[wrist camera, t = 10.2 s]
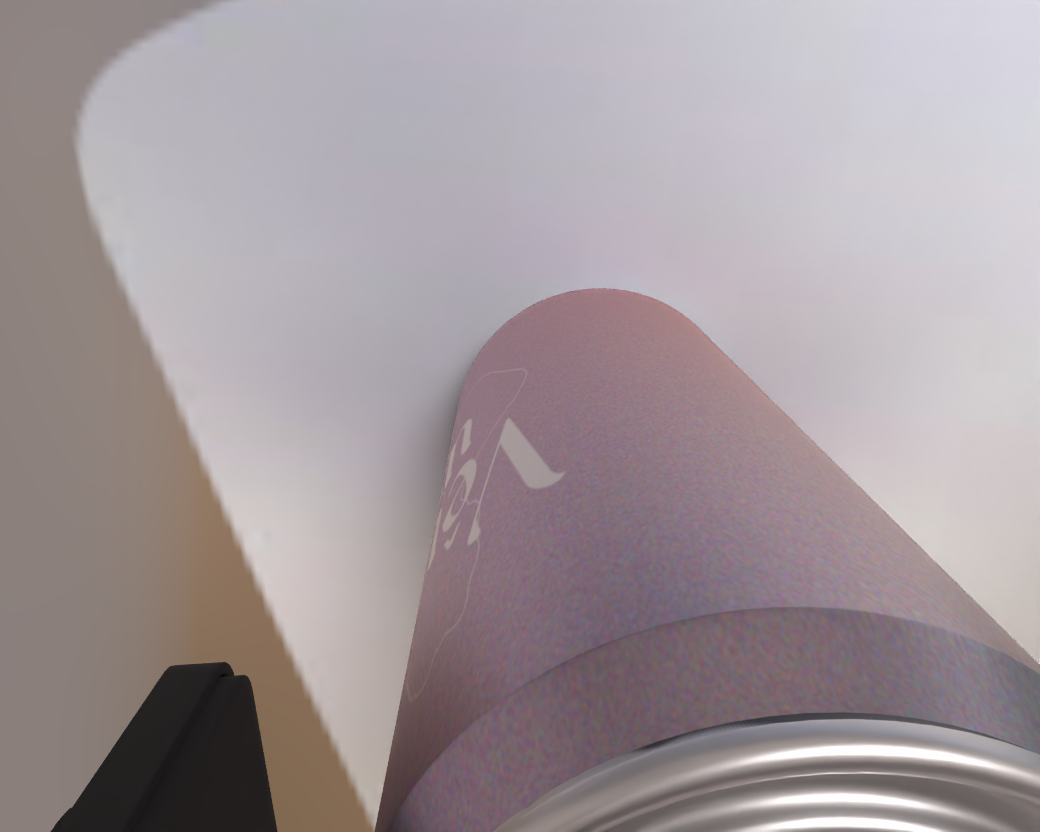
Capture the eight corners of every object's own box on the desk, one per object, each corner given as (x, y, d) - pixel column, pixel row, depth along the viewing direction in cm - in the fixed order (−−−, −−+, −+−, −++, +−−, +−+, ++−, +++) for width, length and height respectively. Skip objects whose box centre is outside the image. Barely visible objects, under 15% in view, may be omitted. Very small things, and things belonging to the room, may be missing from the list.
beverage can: (627, 585, 21) (876, 1527, 7) (408, 456, 20) (154, 1240, 6) (783, 378, 20) (1518, 1015, 5) (555, 228, 19) (706, 513, 4)
